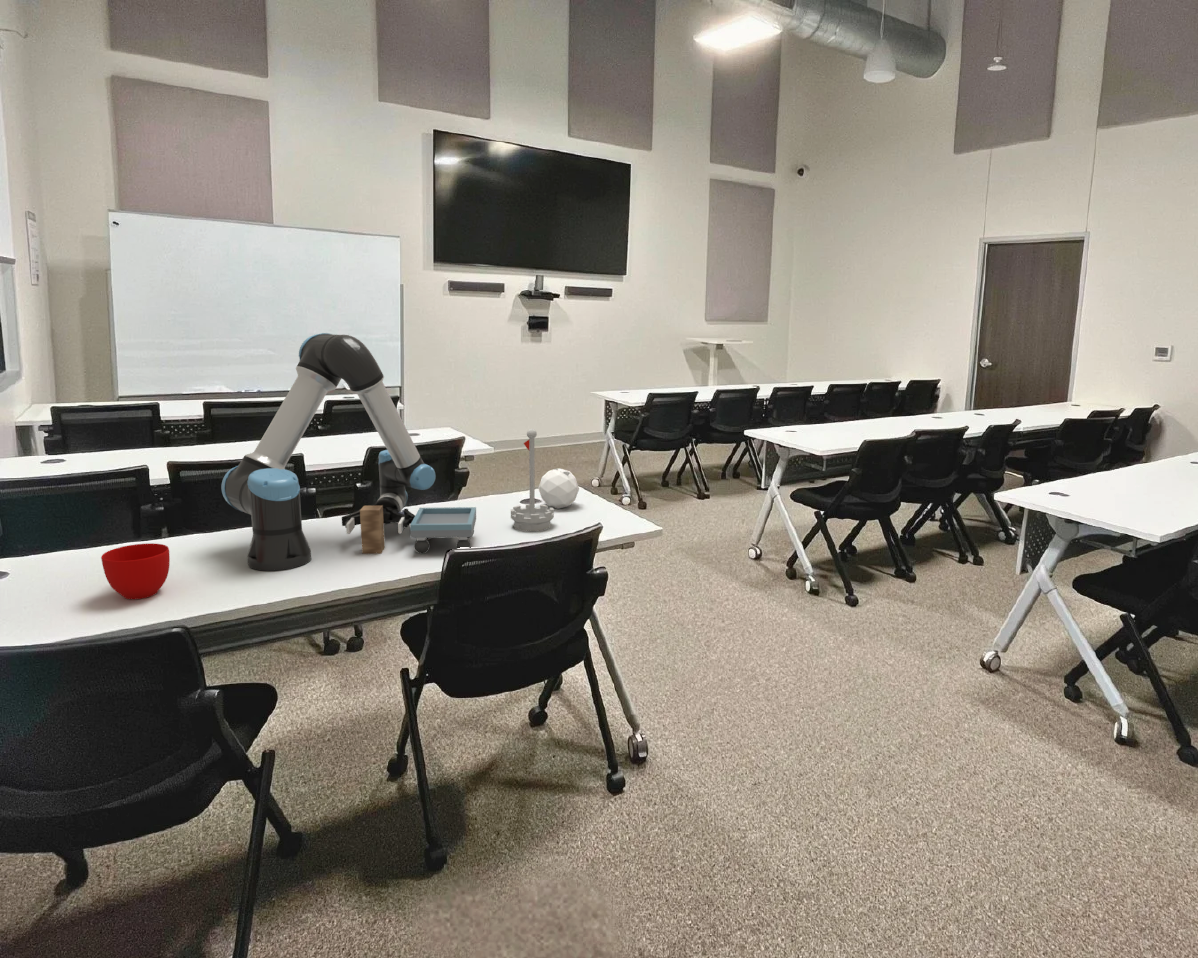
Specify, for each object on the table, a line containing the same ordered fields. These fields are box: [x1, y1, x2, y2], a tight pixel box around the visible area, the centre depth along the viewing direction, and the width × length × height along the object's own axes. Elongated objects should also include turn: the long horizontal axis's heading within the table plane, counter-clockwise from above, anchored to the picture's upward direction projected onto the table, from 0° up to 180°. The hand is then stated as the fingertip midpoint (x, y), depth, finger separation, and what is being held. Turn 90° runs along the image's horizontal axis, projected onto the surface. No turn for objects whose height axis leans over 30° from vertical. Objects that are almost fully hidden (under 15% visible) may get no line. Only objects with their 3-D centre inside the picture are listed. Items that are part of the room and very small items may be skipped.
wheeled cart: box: [409, 506, 477, 554], centre depth 207 cm, size 16×18×8 cm
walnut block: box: [359, 505, 386, 555], centre depth 201 cm, size 5×5×12 cm
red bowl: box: [100, 543, 171, 600], centre depth 169 cm, size 13×17×10 cm
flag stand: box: [510, 428, 555, 532], centre depth 224 cm, size 13×13×30 cm
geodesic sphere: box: [537, 467, 580, 509], centre depth 249 cm, size 14×14×14 cm
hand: (373, 528), depth 200 cm, fingers open, 13 cm apart
